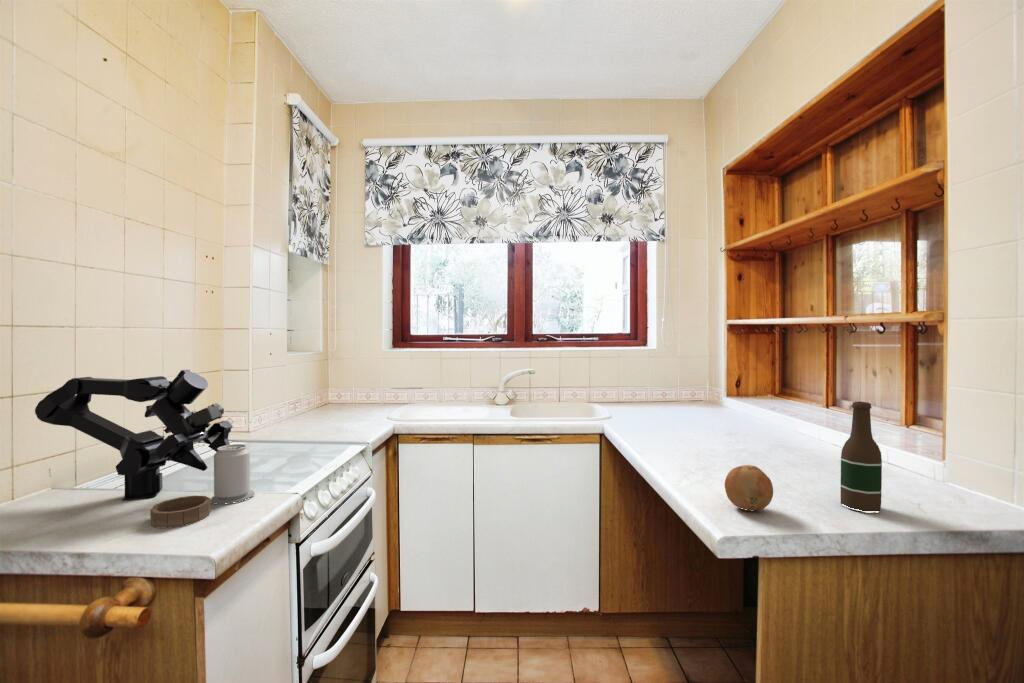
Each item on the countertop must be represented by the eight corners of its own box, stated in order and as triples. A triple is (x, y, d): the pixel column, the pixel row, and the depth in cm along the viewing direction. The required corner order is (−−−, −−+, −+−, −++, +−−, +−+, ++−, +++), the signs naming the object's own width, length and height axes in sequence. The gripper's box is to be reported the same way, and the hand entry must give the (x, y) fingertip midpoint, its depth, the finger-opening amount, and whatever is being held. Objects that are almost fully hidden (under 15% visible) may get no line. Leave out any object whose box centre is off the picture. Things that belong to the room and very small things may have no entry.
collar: (144, 531, 93) (144, 516, 93) (159, 513, 102) (158, 499, 102) (205, 522, 97) (205, 508, 97) (213, 506, 106) (213, 493, 106)
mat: (207, 507, 106) (207, 504, 106) (214, 494, 114) (214, 492, 114) (252, 501, 109) (252, 498, 109) (256, 489, 118) (256, 487, 118)
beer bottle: (874, 503, 107) (875, 400, 107) (888, 516, 100) (890, 405, 99) (834, 500, 110) (835, 399, 109) (846, 511, 102) (847, 404, 102)
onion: (760, 502, 108) (760, 459, 108) (782, 518, 98) (782, 472, 98) (717, 501, 109) (718, 459, 109) (735, 517, 99) (735, 471, 99)
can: (247, 498, 109) (246, 448, 109) (210, 502, 107) (210, 451, 107) (252, 489, 116) (252, 441, 116) (218, 492, 114) (218, 444, 114)
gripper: (167, 400, 103) (214, 450, 102) (225, 389, 121) (265, 432, 120) (134, 434, 103) (180, 485, 103) (197, 419, 122) (237, 461, 121)
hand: (219, 463), depth 112 cm, fingers open, 9 cm apart
